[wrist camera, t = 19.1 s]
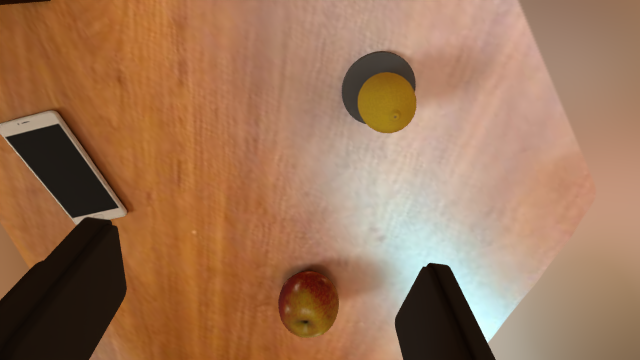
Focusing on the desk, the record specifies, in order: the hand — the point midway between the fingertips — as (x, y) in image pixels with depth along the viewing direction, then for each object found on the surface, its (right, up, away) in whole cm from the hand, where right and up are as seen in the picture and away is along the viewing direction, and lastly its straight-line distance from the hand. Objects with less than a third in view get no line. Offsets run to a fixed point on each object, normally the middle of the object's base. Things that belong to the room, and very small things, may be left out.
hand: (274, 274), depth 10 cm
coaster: (+8, +13, +25) cm, 30 cm away
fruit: (0, -13, +42) cm, 44 cm away
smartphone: (-29, +4, +30) cm, 42 cm away
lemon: (+8, +13, +25) cm, 29 cm away
